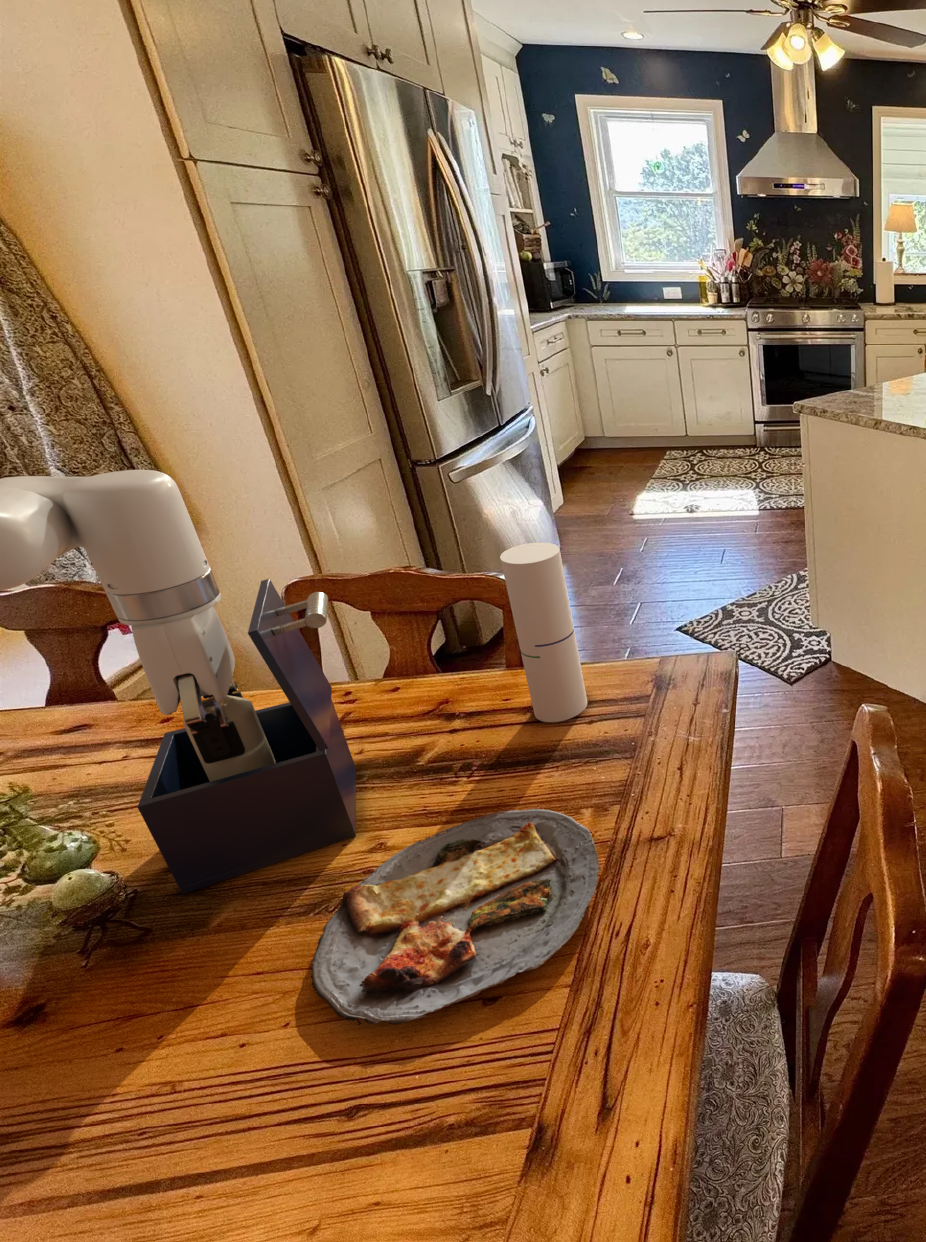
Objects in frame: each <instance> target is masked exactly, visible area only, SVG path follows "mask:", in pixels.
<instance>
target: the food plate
mask: <svg viewBox="0 0 926 1242" xmlns="http://www.w3.org/2000/svg"><path fill="white" fill-rule="evenodd" d="M599 862H600V860H599V855H598V852H597V849H596V845H595V842H594V838H593V836H592V833H591V831H590V829H589V828H588V827H586V825H583V824H582V823H580V822H577V821H576V819H574V818H573V817H572V816H568V815H566V814H564V813H562V812H559V811H556V810H554V811H553V810H551V809H542V808H530V809H522V810H502V811H496V812H493V813H488V814H485V815H483V816H480V817H476V818H474V819H473V818H472V819H471V820H468V821H464V822H462V823H460V824H457V825H454V826H452V827H449V828H447V829H445V830H442V831H439V832H436V833H434V834H432V836H431V835H430V836H427V837H425V838H423V839H420V840H417V841H415V842H414V843H412V844H410V845H408V846H406V847H405V848H403V849H402V850H399V851H398V852H396V853H395V854H393V855H392V856H391V857H390V858H388V859H387V860H385V861H384V863H383V862H382V863H381V864H380V865H379V866H377V868H376V869H375V870H374V871H372V872H371V873H370V875H368V876H367V877H365V878H364V879H363V880H362V881H361V882H359V884H356V885H353V886H351V887H350V889H348V890H344V891H343V894H342V901H341V904H340V906H339V907H338V909H337V910H336V911H335V913H334V914H333V915H332V916H330V918H329V920H328V921H327V922H326V924H325V925H324V927H323V929H322V934H321V935H320V937H319V938H318V941H317V946H316V950H315V952H314V955H313V958H312V961H311V967H310V968H311V974H310V978H311V986H312V989H313V990H314V991H315V994H317V996H318V997H319V998H320V999H322V1000H323V1001H324V1002H325V1003H326V1004H327V1005H328V1006H329V1007H330V1008H331V1009H332V1010H333V1011H334V1013H335V1015H336V1017H339V1018H341V1019H343V1018H344V1019H345V1020H347V1021H351V1022H355V1021H356V1022H357V1023H358V1024H357V1025H358V1026H361V1024H363V1023H362V1022H360V1019H362V1020H363V1021H364V1022H367V1023H368V1024H369V1025H376V1024H377V1023H380V1022H382V1021H385V1022H388V1023H387V1024H389V1025H394V1026H395V1025H399V1024H403V1023H409V1022H411V1021H413V1020H417V1019H421V1018H426V1017H427V1015H426V1014H431V1013H435V1012H437V1011H438V1010H441V1009H443V1008H445V1007H449V1006H450V1005H451V1006H452V1005H454V1004H455V1003H459V1002H461V1001H464V1000H467V999H469V998H473V997H474V996H477V995H479V994H480V993H481V992H482V991H484V990H486V989H490V988H492V987H495V986H497V985H501V984H503V983H504V982H505V981H507V980H508V979H510V978H512V977H514V976H515V975H517V974H518V973H523V972H526V971H532V970H534V969H538V968H539V967H540V966H542V965H543V964H545V962H546V961H548V960H549V959H551V958H552V957H553V955H555V953H558V951H559V950H560V949H561V948H562V947H563V946H564V945H565V944H566V943H567V942H568V941H569V940H570V939H571V938H572V937H573V935H574V934H575V932H576V931H577V930H578V929H579V927H580V923H581V922H583V921H582V920H583V919H584V917H585V912H586V909H587V907H588V906H589V904H590V902H591V900H592V898H593V896H594V894H595V891H596V888H597V886H598V879H599V872H600V868H601V867H600V865H599Z"/></svg>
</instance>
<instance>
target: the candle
mask: <svg viewBox="0 0 926 1242" xmlns="http://www.w3.org/2000/svg"><path fill="white" fill-rule="evenodd" d="M210 699H213V696H212V697H210V698H206V700H210ZM222 701H223V704H224V707H225V711H226V714H227V717H228V721H229V722H231V721H234V724H235V726H236V728H237V731H238V733H239V735H240V738H241V740H242V743H243V745H244V747H245V752H244V754H243V755H240V756H236V757H233V758H229V759H225V760H222V761H218V762H214V763H210V764H207V763H205V762H204V760H203V758H202V755H201V753H200V751H199V749H198V747H197V745H196V742H195V740H194V738H193V736H192V734H191V732H190V729H189V727H188V726H187V725H186V724H185V722H184V721H183V726H184V728H185V729H186V731H187V733H188V735H189V737H190V740H191V742H192V744H193V746H194V748H195V751H196V753H197V755H198V757H199V759H200V761H201V764H202V766H203V768H204V770H205V772H206V775H207V777H208V779H209V781H210V782H212V781H215V780H219V779H222V778H226V777H229V776H233V775H236V774H240V773H244V772H247V771H251V770H254V769H258V768H261V767H265V766H268V765H272V764H276V762H275V759H274V756H273V754H272V751H271V749H270V746H269V744H268V741H267V739H266V736H265V734H264V732H263V729H262V727H261V724H260V722H259V719H258V717H257V714H256V712H255V711H256V710H255V706H254V704H253V702H252V701H251V700H250V699H248V698H245V697H243V698H241V697H235V696H229V695H227V696H226V697H225V698H224V700H222ZM203 709H204V711H205V712H206V714H209V713H212V714H214V715H216V712H215V709H214V706H210V707H206V708H203ZM216 716H217V715H216Z"/></svg>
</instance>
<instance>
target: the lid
mask: <svg viewBox="0 0 926 1242" xmlns="http://www.w3.org/2000/svg"><path fill="white" fill-rule="evenodd" d="M328 606H329V596H328V595H327V594H326V593H324V592H321V591H314V592H312V593H310V594H309V595H308V597H307V599H305V600H302V601H299V602H295V603H292V604H288V605H286V604H285V603H284V601H283V600H282V598H281V596H280V594H279V592H278V591H277V589H276V587H275V586H274V583H273V582H272V580H271V579H270V578H267V579H266V578H265V579H263V580H260V584H259V588H258V592H257V596H256V600H255V602H254V607H253V611H252V615H251V619H250V622H249V627H248V629H247V635H248V637H249V638H250V639H251V642H252V643H253V644H254V646H255V648H256V650H257V651H258V653H259V655H260V656H261V657H262V659H263V661H264V662H265V664H266V666H267V667H268V669H269V670H270V672H271V674H272V675H273V677H274V679H275V680H276V683H277V684H278V685H279V687H280V689H281V691H282V692H283V694H284V696H285V697H286V698H287V700H288V702H290V703H291V705H292V706H293V708H294V710H295V711H296V713H297V715H298V716H299V718H300V720H301V721H302V723H303V724H304V726H305V728H306V729H307V731H308V733H309V734H310V736H311V737H312V739H313V741H314V742H315V744H316V746H317V747H318V749H319V751H323V750H326V749H328V748H329V731H330V712H331V699H332V691H333V690H332V689H333V687H332V685H331V684H330V681H329V680H328V678H327V676H326V675H325V673H324V671H323V669H322V668H321V666H320V664H319V663H318V661H317V659H316V657H315V656H314V654H313V652H312V650H311V648H310V647H309V645H308V643H307V641H306V639H305V638H304V636H303V635H302V632H301V631H300V629H301V628H306V627H308V628H311V629H319V628H322V627H323V626H325V625H326V624H327V620H328V608H329V607H328ZM305 609H306V610H305ZM303 610H305V617H304V618H300V619H298V620H294V619H293V617H292V613H294V612H299V611H303Z"/></svg>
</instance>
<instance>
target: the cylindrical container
mask: <svg viewBox="0 0 926 1242" xmlns="http://www.w3.org/2000/svg"><path fill="white" fill-rule="evenodd" d="M560 549H561V548H560V546H559V545H557V544H555V543H551V542H543V541H542V542H541V541H540V542H530V543H529V542H528V543H522V544H519V545H516V546H513V547H511V548H507V549H506V550H504V551H503V552H502V553H501V554H500V555H499V558H500V563H501V568H502V572H503V577H504V581H505V586H506V591H507V596H508V599H509V605H510V609H511V612H512V613H511V614H512V618H513V624H514V627H515V632H516V637H517V641H518V646H519V650H520V656H521V660H522V664H523V669H524V673H525V678H526V682H527V686H528V691H529V696H530V697H529V698H530V700H531V701H530V702H531V705H532V709H533V716H534V717H535V718H536V719H537V720H539V721H540V722H544V723H559V722H565V721H567V720H570V719H572V718H574V717H577V716H578V715H580V714H581V713H582V712H584V711H585V709H586V708H587V706H588V698H587V692H586V687H585V681H584V680H585V679H584V676H583V671H582V670H583V669H582V665H581V659H580V653H579V648H578V642H577V637H576V632H575V627H574V620H573V615H572V609H571V604H570V599H569V592H568V587H567V582H566V576H565V571H564V566H563V559H562V554H561V550H560Z"/></svg>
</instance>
